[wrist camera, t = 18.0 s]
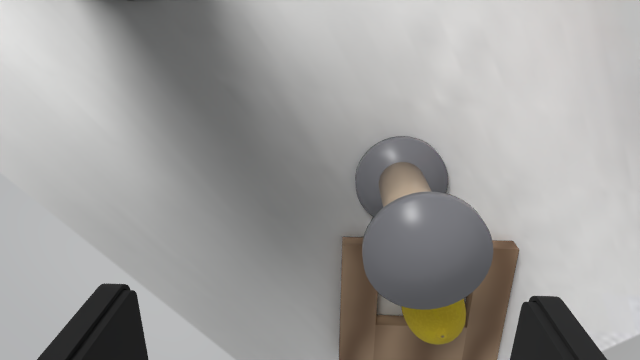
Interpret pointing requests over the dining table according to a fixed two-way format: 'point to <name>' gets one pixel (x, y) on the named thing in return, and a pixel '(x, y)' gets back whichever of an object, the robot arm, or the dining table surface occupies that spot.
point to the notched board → (393, 332)
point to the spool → (418, 228)
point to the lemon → (437, 322)
